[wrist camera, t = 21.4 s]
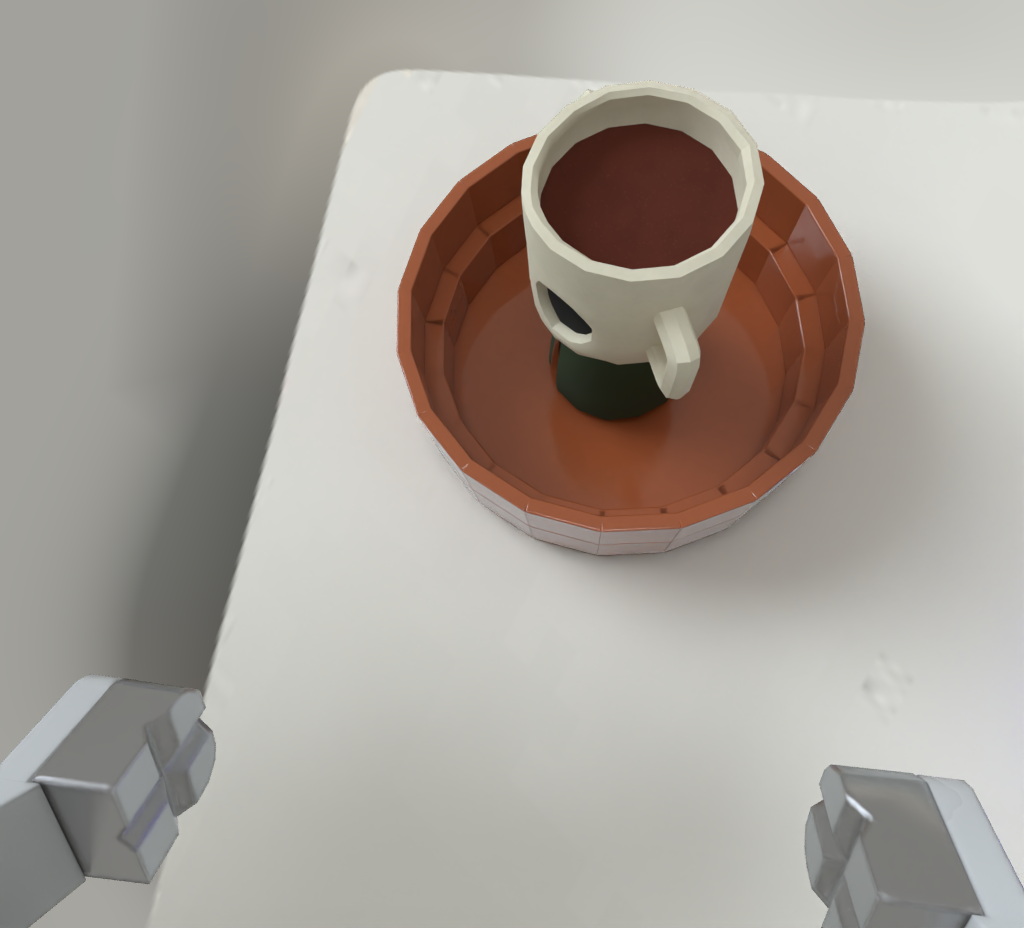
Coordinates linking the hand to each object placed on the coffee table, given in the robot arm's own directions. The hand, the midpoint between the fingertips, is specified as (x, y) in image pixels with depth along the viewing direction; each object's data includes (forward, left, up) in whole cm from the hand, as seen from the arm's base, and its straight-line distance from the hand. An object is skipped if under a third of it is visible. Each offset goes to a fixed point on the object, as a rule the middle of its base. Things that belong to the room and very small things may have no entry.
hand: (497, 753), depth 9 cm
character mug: (-1, +15, -21) cm, 26 cm away
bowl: (-1, +15, -21) cm, 26 cm away
